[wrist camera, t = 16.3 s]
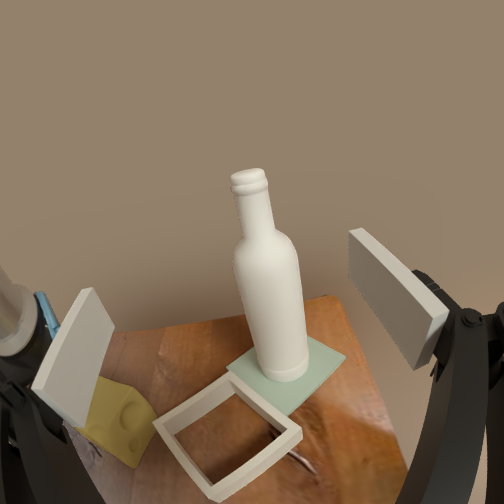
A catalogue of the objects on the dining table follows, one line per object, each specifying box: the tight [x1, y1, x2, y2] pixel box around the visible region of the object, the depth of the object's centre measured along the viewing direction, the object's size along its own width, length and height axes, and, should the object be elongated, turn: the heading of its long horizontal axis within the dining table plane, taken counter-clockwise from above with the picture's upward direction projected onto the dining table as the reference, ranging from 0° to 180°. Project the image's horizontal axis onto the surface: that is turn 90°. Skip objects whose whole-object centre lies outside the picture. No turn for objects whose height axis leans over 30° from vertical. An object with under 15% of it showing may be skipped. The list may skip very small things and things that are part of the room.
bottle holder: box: [152, 370, 303, 503], centre depth 30 cm, size 14×14×4 cm
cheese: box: [74, 375, 158, 469], centre depth 30 cm, size 10×11×10 cm
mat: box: [226, 336, 346, 417], centre depth 41 cm, size 14×14×1 cm
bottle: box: [230, 168, 309, 383], centre depth 34 cm, size 8×8×30 cm
